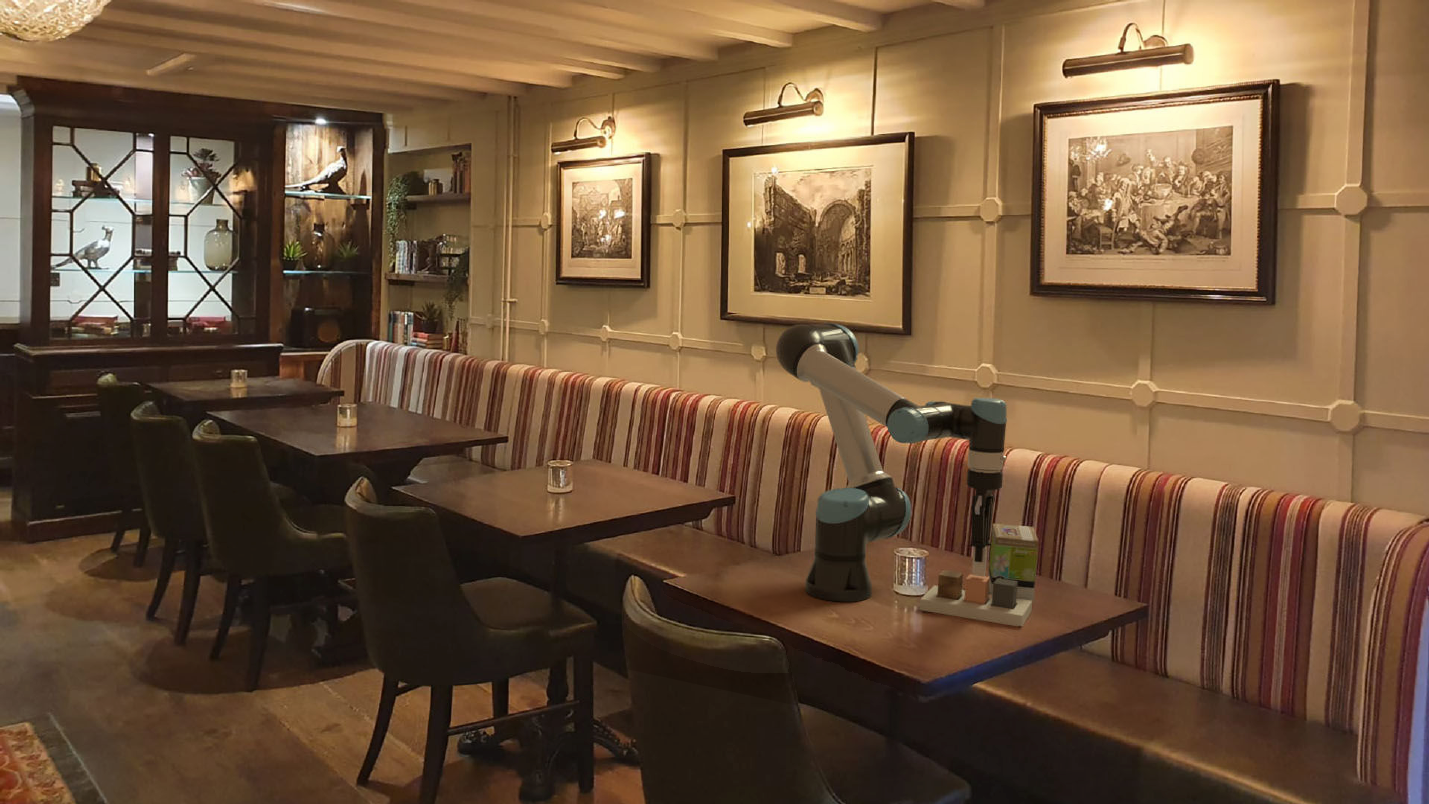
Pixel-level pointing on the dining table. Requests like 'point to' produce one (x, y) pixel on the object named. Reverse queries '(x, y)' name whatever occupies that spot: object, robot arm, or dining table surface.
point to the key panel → (976, 608)
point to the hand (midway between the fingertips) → (978, 574)
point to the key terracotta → (977, 589)
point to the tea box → (1014, 557)
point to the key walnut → (950, 584)
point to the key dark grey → (1004, 593)
